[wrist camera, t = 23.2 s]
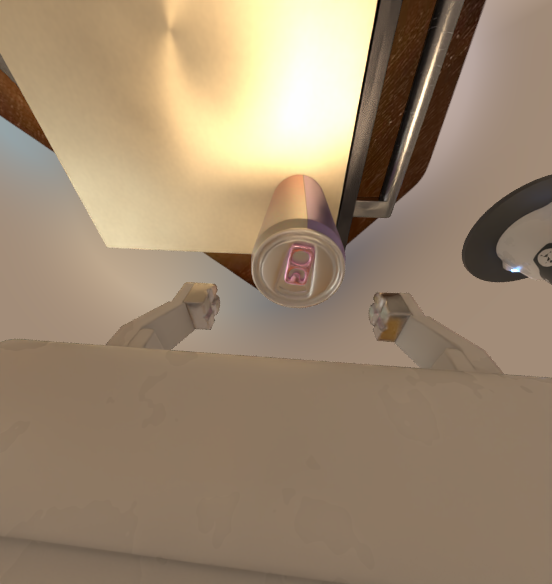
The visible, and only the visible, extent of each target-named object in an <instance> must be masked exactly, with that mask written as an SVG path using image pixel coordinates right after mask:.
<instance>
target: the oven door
mask: <svg viewBox="0 0 552 584" xmlns="http://www.w3.org/2000/svg"><path fill="white" fill-rule="evenodd" d="M402 1H403V0H378V3H377V8H376V13H375V19H374V24H373V30H372V35H371V40H370V46H369V51H368V56H367V62H366V67H365V73H364V78H363V83H362V89H361V94H360V99H359V105H358V110H357V116H356V121H355V126H354V132H353V137H352V142H351V148H350V153H349V159H348V164H347V169H346V175H345V180H344V185H343V191H342V196H341V202H340V207H339V212H338V218H337V223H336V228H337V231H338V233H339V236H340V239H341V241H342V244H343V247H344V251H345V247H346V244H347V239H348V235H349V231H350V226H351V222H352V218H353V217H373V218H389V217H390V216H391V213H392V210H393V208H394V205H395V202H396V199H397V196H398V193H399V190H400V187H401V184H402V181H403V178H404V176H405V173H406V170H407V167H408V164H409V161H410V158H411V155H412V152H413V149H414V146H415V143H416V141H417V138H418V135H419V132H420V129H421V126H422V123H423V120H424V117H425V114H426V111H427V108H428V106H429V103H430V100H431V97H432V94H433V91H434V88H435V85H436V82H437V79H438V76H439V73H440V71H441V68H442V65H443V62H444V59H445V56H446V53H447V50H448V47H449V44H450V41H451V38H452V36H453V33H454V30H455V27H456V24H457V21H458V18H459V15H460V12H461V9H462V6H463V3H464V1H465V0H436V4H435V7H434V11H433V14H432V18H431V21H430V24H429V28H428V31H427V35H426V38H425V42H424V45H423V48H422V52H421V55H420V59H419V62H418V66H417V69H416V72H415V76H414V79H413V83H412V86H411V90H410V93H409V96H408V100H407V103H406V107H405V110H404V113H403V117H402V120H401V124H400V127H399V131H398V134H397V137H396V141H395V144H394V148H393V151H392V155H391V158H390V161H389V165H388V168H387V172H386V175H385V179H384V182H383V185H382V189H381V192H380V196H379V197H357V196H358V192H359V187H360V183H361V179H362V174H363V170H364V166H365V161H366V157H367V153H368V148H369V144H370V140H371V135H372V131H373V127H374V122H375V118H376V114H377V109H378V105H379V101H380V96H381V92H382V88H383V83H384V79H385V75H386V70H387V66H388V62H389V57H390V53H391V49H392V44H393V40H394V36H395V31H396V27H397V22H398V18H399V14H400V9H401V5H402Z"/></svg>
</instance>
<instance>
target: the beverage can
mask: <svg viewBox="0 0 552 584" xmlns="http://www.w3.org/2000/svg"><path fill="white" fill-rule="evenodd" d="M251 262H252V277H253V280H254V283H255V285H256V287H257V288H258V290H259V291H260V292H261V293H262V294H263V295H264V296H265V297H266V298H267V299H269V300H271V301H272V302H274V303H276V304H279V305H281V306H285V307H291V308H306V307H311V306H314V305H317V304H320V303H322V302H324V301H325V300H327V299H328V298H330V297H331V296H332V295H333V294H334V293H335V292H336V291H337V290H338V288H339V287H340V285H341V283H342V281H343V278H344V274H345V251H344V247H343V244H342V241H341V239H340V236H339V233H338V231H337V228H336V225H335V222H334V220H333V217H332V214H331V212H330V209H329V206H328V203H327V201H326V198H325V195H324V193H323V190H322V188H321V186H320V185H319V184H318V183H317V182H316V181H315V180H314V179H313V178H311V177H309V176H305V175H293V176H290V177H288V178H286V179H284V180H283V181H282V182H281V183H280V184H279V185H278V186H277V188H276V189H275V191H274V194H273V196H272V199H271V202H270V204H269V207H268V210H267V213H266V215H265V218H264V221H263V223H262V226H261V229H260V231H259V234H258V237H257V239H256V242H255V245H254V248H253V251H252V257H251Z"/></svg>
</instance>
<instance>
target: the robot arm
mask: <svg viewBox="0 0 552 584" xmlns="http://www.w3.org/2000/svg"><path fill="white" fill-rule="evenodd" d="M496 253H497V255H498V257H499V258H500V259H501V260H502V262H503V268H504V269H505V270H507V271H512V272H520V273H522V274H524V275H526V276H528V277H530V278H532V279H534V280H546V281H547V282H548V283H550V284H551V285H552V202H551V203H549V204H548V205H546V206H544V207H542V208H540V209H538V210H535V211H533V212H531V213H529V214H527V215H525V216H523V217H522V218H520V219H519V220H517V221H516V222H514V223H513V224H512V225H511V226H510V227H509V228H508V229H507V230H506V231H505V232H504V233H503V234H502V236H501V237H500V239H499V241H498V243H497V246H496ZM216 292H217V286H216V285H215V284H208V283H193V282H187V283H185V284H184V285H183V287H182V288H181V290H180V291H179V292H178V293H177V295H176V296H175V298H174V299H173V300H172V302H167V303H165V304H163V305H161V306H159V307H158V308H155V309H154V310H152V311H150V312H148V313H146V314H144V315H142V316H140V317H139V318H137V319H134V320H133V321H131V322H129V323H127V324H125V325H123V326H122V327H121V328H120V329H119V330H118V331H117V332H116V333H115V335H114V336H113V337H112V338H111V339H110V340H109V341H108V342H107V344H106V345H93V344H79V343H65V342H51V341H39V340H38V341H37V340H27V339H10V340H5V341H2V342H0V584H552V378H548V377H534V376H521V375H508V374H504V373H503V372H502V371H501V370H500V368H499V367H498V366H497V365H496V363H495V362H494V361H493V360H492V359H491V357H490V356H489V355H488V354H487V353H486V351H485V350H483V349H482V348H480V347H478V346H477V345H475V344H473V343H472V342H470V341H468V340H467V339H465V338H464V337H462V336H460V335H459V334H457V333H455V332H453V331H452V330H450V329H449V328H447V327H445V326H444V325H442V324H441V323H439V322H437V321H436V320H434V319H432V318H431V317H428V316H425V315H424V313H423V312H422V310H421V309H420V307H419V306H418V304H417V303H416V301H415V300H414V298H413V297H412V295H411V294H409V293H376V294H375V295H374V302H375V303H373V304H372V305H371V306H370V309H369V320H370V323H371V324H372V325H373V326H374V329H373V331H374V334H375V337H376V339H377V341H388V342H395V344H396V345H397V346H399V347H400V349H402V350H403V351H404V352H405V353H406V354H407V355H408V356H409V357H410V358H411V359H412V360H413V361H414V362H415V363H416V364H417V365H418V366H419V367H420V368H411V367H397V366H383V365H369V364H355V363H341V362H327V361H314V360H301V359H287V358H272V357H258V356H244V355H231V354H216V353H204V352H190V351H175V350H171V349H173V348H174V347H175V346H176V345H177V344H178V343H180V342H181V341H182V340H183V339H184V338H185V337H187V336H188V335H189V334H190V333H192V332H193V331H194V329H206V330H211V328H212V325H213V323H214V321H215V319H214V316H215V315H217V314H218V311H219V307H220V300H219V297H218V296H217V295H216Z"/></svg>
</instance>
